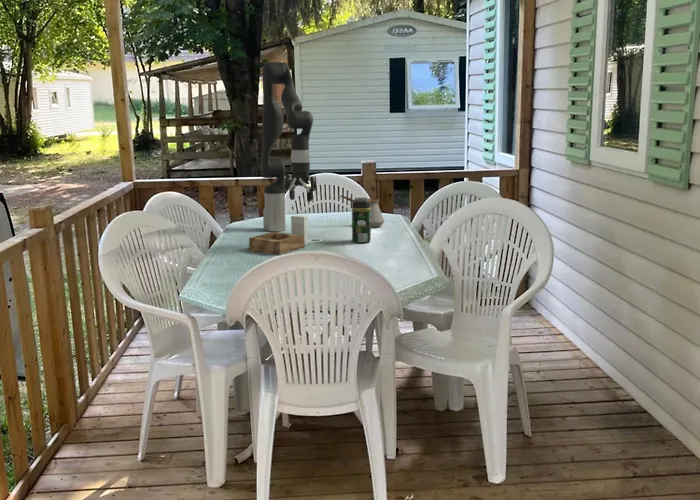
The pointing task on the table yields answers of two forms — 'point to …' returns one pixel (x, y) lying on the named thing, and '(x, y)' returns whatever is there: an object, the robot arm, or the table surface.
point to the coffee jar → (361, 220)
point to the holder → (276, 243)
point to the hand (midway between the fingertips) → (300, 200)
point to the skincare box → (300, 226)
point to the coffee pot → (373, 212)
